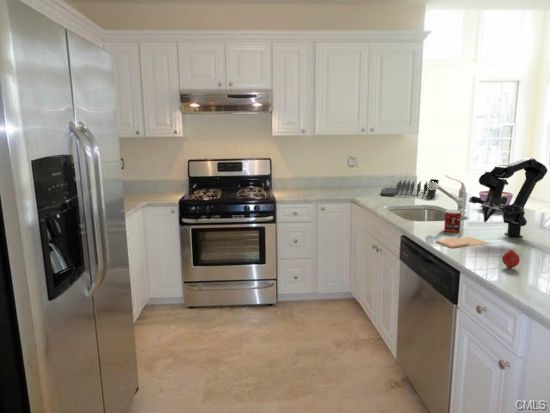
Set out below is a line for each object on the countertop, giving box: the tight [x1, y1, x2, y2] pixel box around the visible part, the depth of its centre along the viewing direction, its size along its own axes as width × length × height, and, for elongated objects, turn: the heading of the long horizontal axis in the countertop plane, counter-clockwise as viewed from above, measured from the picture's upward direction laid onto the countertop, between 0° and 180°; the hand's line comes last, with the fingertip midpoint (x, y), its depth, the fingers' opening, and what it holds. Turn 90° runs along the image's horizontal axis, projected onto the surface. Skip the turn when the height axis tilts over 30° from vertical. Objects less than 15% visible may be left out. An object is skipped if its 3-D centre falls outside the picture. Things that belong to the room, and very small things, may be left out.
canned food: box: [443, 209, 462, 233], centre depth 208 cm, size 8×8×11 cm
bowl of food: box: [478, 190, 514, 212], centre depth 260 cm, size 20×20×12 cm
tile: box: [435, 237, 469, 249], centre depth 185 cm, size 2×10×10 cm
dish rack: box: [380, 178, 440, 199], centre depth 326 cm, size 34×44×12 cm
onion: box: [501, 248, 520, 269], centre depth 152 cm, size 6×6×8 cm
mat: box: [456, 236, 490, 247], centre depth 189 cm, size 12×12×1 cm
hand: (484, 221), depth 188 cm, fingers closed
